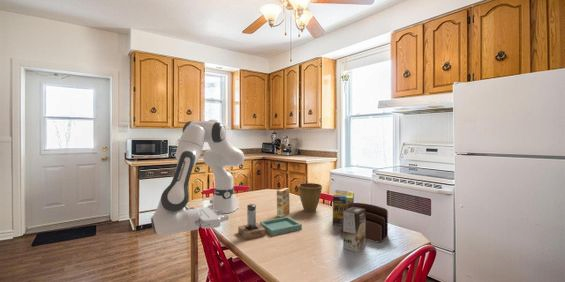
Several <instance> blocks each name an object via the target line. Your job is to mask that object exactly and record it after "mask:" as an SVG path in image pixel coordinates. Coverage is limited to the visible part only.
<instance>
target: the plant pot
mask: <svg viewBox="0 0 565 282" xmlns="http://www.w3.org/2000/svg"><path fill="white" fill-rule="evenodd" d="M297 187H298V192H299V193H298V194H299V199H300V203H301V205H302V209H303V211H305V212H309V213H313V212H316V210H317V208H318V205H319V202H320V199H321V195H322V190H323V185H322V184H319V183H313V182H304V183H303V182H302V183H299V184H298V186H297Z"/></svg>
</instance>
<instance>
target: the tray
mask: <svg viewBox="0 0 565 282" xmlns="http://www.w3.org/2000/svg"><path fill="white" fill-rule="evenodd" d="M259 225H260V226H262V227H263V228H264V229H265V233H267V234H269V235H270V236H271V237H273V235H274V236H278V235H281V234H286V233H291V232H296V231H300V230H302V229H303V228H302V227H303V226H302V225H303V224H302V223H301V222H298V221H297V220H294V219H293V218H292V217H289V216H283V217H279V218H273V219H268V220H263V221H259Z"/></svg>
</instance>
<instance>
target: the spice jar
mask: <svg viewBox="0 0 565 282" xmlns="http://www.w3.org/2000/svg"><path fill="white" fill-rule="evenodd" d="M246 206H247V207H246V208H247V212H246V213H247V219H246V220H247V224H246V225H247V226H248V230H254V229H256V223H257V221H256V220H257V214H256V213H257V209H256V207H257V205H256V204H253V203H252V204H247V205H246Z"/></svg>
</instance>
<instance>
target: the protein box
mask: <svg viewBox="0 0 565 282" xmlns="http://www.w3.org/2000/svg"><path fill="white" fill-rule="evenodd" d="M354 199H355V192H354V191H348V190H347V191H345V190H335V192H334V194H333V196H332V225H333V226H340V227H341V218H342V217H344V210H346V209H348V204H349V203H355V200H354Z"/></svg>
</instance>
